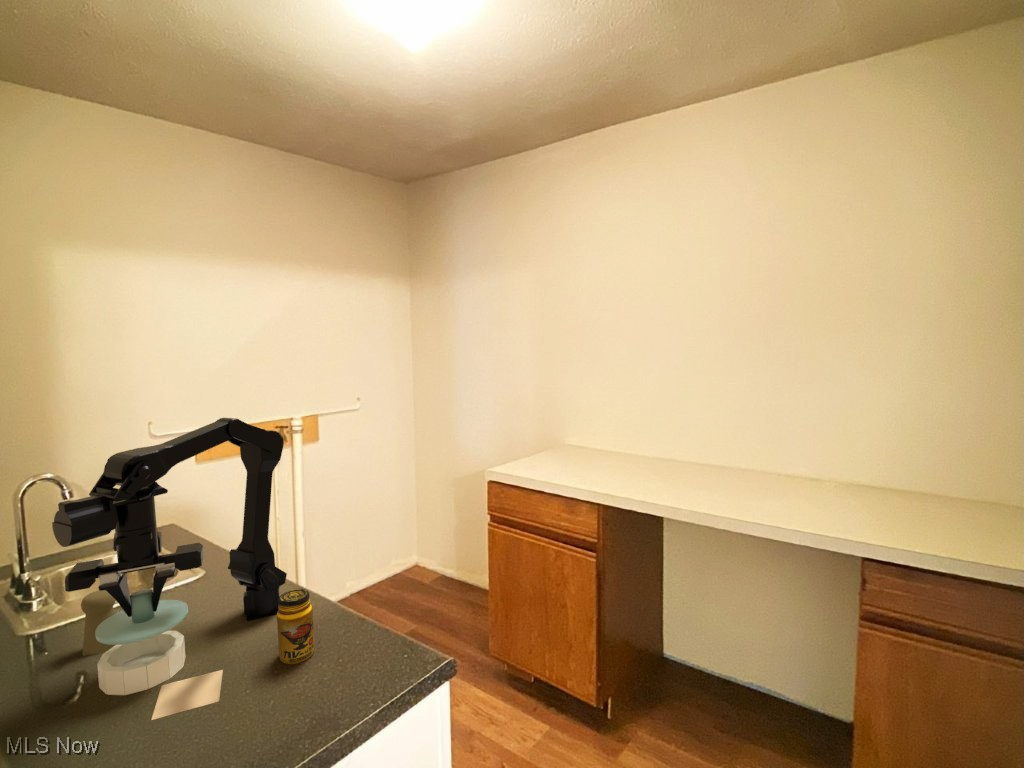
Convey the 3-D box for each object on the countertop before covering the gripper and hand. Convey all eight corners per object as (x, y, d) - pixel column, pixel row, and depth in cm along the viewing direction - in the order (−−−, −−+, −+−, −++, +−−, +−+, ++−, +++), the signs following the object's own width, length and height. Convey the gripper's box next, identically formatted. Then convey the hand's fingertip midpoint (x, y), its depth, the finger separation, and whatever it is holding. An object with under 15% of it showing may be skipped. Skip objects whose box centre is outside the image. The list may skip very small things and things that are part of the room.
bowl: (188, 646, 98) (187, 624, 98) (179, 683, 87) (177, 658, 87) (111, 664, 93) (109, 641, 93) (91, 706, 82) (89, 679, 82)
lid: (191, 597, 97) (189, 570, 97) (183, 630, 86) (181, 600, 86) (106, 615, 92) (103, 586, 91) (85, 653, 80) (82, 621, 80)
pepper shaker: (100, 659, 95) (95, 601, 94) (73, 655, 96) (68, 599, 95) (130, 640, 101) (125, 586, 100) (105, 637, 102) (100, 584, 101)
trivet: (223, 672, 90) (223, 669, 90) (219, 704, 82) (218, 701, 82) (162, 688, 86) (161, 685, 86) (151, 723, 78) (151, 720, 78)
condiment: (299, 672, 90) (295, 606, 89) (260, 663, 92) (256, 599, 92) (326, 648, 97) (323, 587, 96) (289, 641, 99) (286, 581, 98)
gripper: (203, 504, 99) (208, 581, 100) (80, 521, 90) (87, 606, 92) (198, 521, 89) (204, 607, 90) (59, 542, 80) (68, 637, 82)
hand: (143, 613), depth 89 cm, fingers closed on lid, 3 cm apart
